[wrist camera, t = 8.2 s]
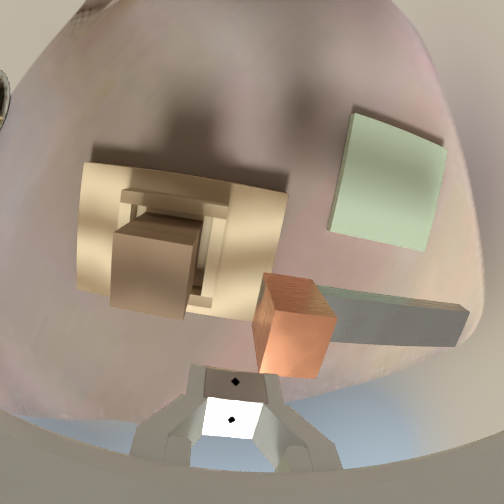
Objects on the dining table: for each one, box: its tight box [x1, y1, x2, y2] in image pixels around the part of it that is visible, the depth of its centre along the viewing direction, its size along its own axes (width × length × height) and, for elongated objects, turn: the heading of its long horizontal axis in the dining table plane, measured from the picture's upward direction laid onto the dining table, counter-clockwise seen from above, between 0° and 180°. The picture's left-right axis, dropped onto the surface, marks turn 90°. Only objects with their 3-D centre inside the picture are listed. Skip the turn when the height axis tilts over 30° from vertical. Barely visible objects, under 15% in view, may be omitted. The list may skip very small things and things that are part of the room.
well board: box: [77, 162, 289, 322], centre depth 26 cm, size 12×18×4 cm, turn 79°
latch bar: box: [252, 272, 470, 378], centre depth 17 cm, size 4×16×5 cm, turn 79°
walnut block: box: [110, 212, 204, 320], centre depth 22 cm, size 5×5×8 cm
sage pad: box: [327, 113, 447, 252], centre depth 27 cm, size 11×11×1 cm
